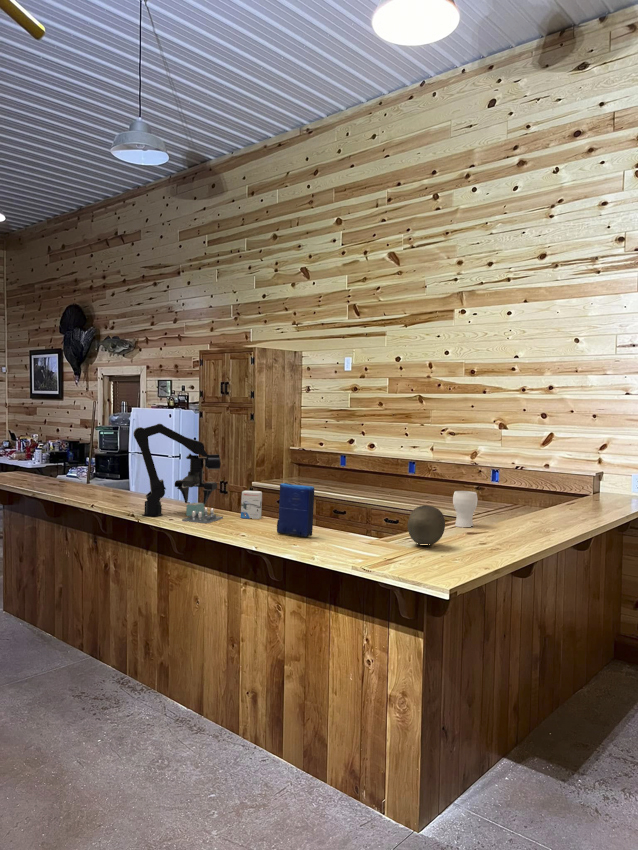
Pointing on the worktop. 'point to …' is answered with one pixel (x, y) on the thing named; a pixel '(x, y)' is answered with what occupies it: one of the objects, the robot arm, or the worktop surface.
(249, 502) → the ink box
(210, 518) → the metal plate device
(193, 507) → the block
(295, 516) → the book
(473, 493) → the cup
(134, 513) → the worktop surface
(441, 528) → the dark grey sphere
